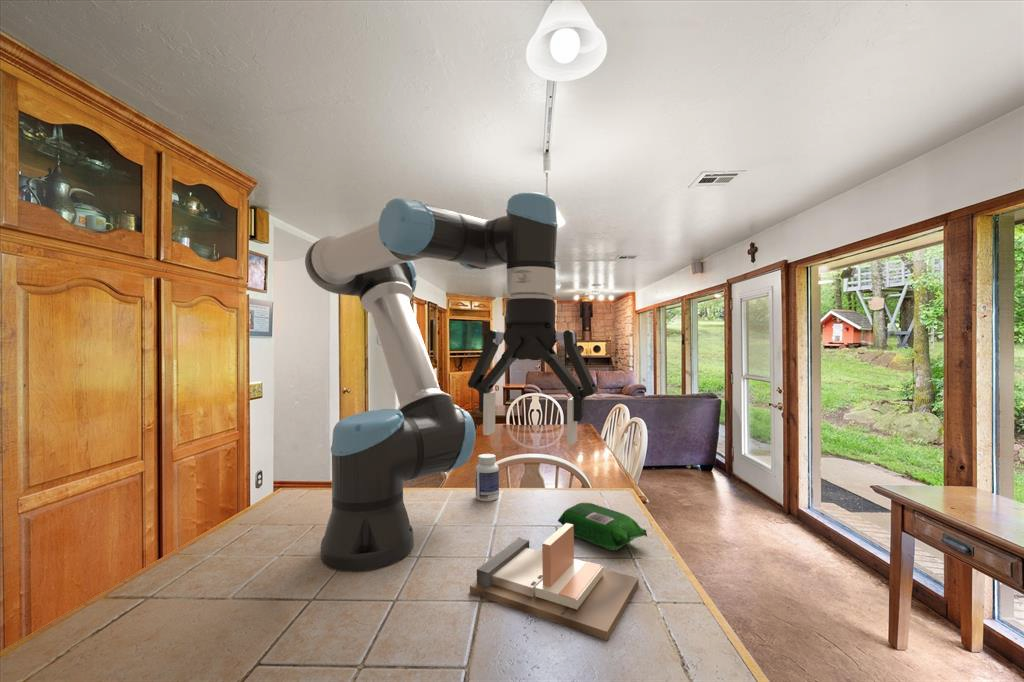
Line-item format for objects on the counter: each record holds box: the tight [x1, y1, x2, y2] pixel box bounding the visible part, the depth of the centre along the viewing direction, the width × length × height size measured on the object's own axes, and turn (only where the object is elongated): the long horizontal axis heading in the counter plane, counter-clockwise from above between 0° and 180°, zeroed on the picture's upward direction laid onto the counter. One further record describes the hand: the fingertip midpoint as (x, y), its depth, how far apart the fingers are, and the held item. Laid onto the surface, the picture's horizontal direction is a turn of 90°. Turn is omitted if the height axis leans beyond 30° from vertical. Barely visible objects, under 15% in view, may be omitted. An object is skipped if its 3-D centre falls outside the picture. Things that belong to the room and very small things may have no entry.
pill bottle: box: [475, 453, 500, 502], centre depth 101 cm, size 5×5×10 cm
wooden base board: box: [469, 537, 640, 641], centre depth 63 cm, size 20×14×3 cm
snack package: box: [557, 502, 648, 551], centre depth 79 cm, size 7×16×5 cm, turn 41°
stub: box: [535, 523, 604, 609], centre depth 62 cm, size 6×10×7 cm, turn 149°
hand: (528, 438), depth 67 cm, fingers open, 13 cm apart
